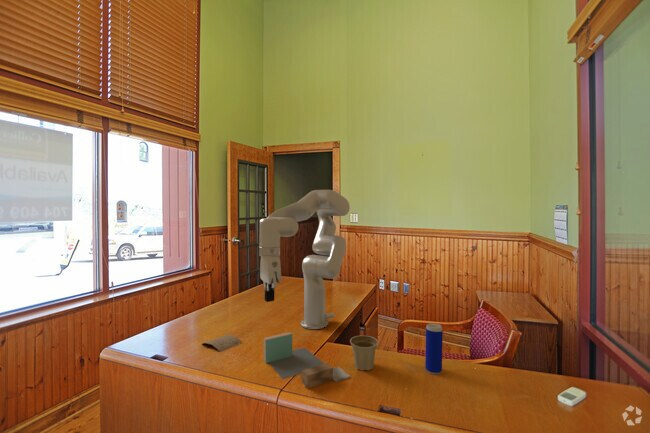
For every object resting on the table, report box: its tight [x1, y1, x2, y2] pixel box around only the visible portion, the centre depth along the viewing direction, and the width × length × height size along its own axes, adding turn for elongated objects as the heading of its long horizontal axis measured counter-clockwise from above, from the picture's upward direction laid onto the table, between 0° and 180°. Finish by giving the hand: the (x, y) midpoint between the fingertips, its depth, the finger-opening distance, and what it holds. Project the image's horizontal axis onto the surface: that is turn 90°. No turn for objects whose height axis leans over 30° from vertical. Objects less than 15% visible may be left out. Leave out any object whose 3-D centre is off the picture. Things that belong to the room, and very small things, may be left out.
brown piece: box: [301, 362, 351, 389], centre depth 98 cm, size 14×6×4 cm, turn 121°
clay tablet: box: [202, 333, 243, 353], centre depth 121 cm, size 14×10×3 cm
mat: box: [267, 347, 325, 380], centre depth 108 cm, size 16×16×1 cm
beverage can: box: [424, 322, 444, 375], centre depth 103 cm, size 5×5×15 cm
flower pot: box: [349, 335, 379, 371], centre depth 105 cm, size 9×9×9 cm
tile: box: [263, 331, 293, 364], centre depth 110 cm, size 10×2×8 cm, turn 121°
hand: (269, 300), depth 116 cm, fingers closed
